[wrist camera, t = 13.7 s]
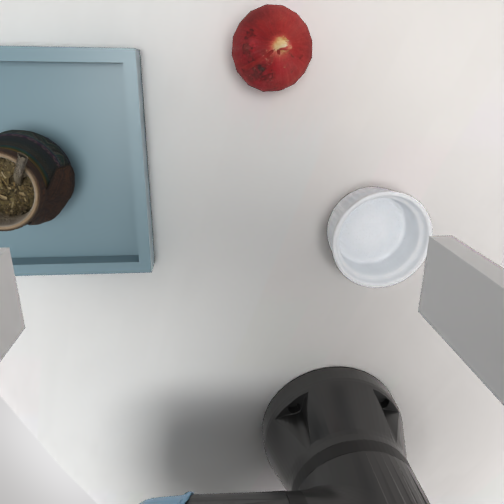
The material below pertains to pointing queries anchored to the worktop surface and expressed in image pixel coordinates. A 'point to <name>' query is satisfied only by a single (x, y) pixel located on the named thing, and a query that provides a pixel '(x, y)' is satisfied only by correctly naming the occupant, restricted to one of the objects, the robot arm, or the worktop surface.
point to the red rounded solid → (271, 48)
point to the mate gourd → (32, 179)
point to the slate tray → (83, 157)
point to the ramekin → (379, 236)
